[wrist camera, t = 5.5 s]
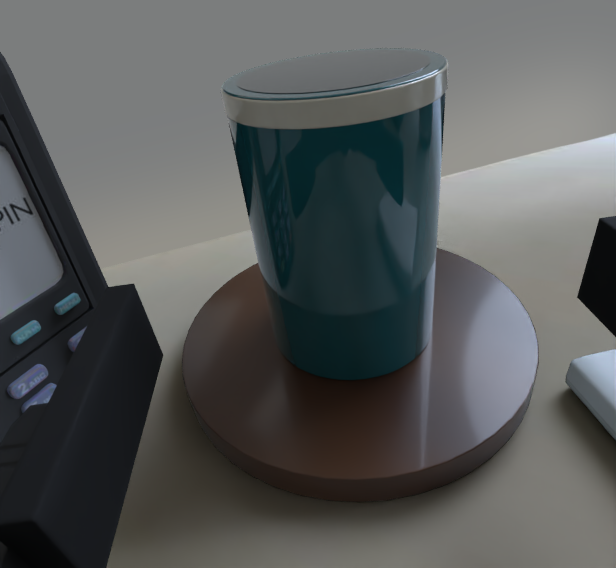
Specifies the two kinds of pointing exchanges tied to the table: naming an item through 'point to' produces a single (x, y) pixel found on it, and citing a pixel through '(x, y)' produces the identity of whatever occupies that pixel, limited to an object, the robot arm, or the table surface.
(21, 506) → the robot arm
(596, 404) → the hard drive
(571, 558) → the table surface
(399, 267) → the tumbler
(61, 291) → the card reader
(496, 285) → the plate
